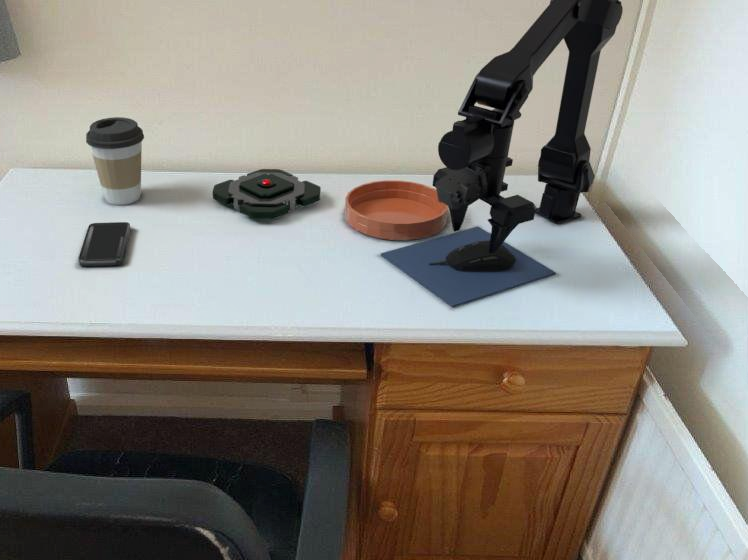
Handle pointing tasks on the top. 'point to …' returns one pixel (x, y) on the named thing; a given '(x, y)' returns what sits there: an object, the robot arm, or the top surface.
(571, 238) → the top surface
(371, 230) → the terracotta plant saucer
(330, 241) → the top surface
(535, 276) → the mouse mat
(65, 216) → the top surface
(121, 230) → the phone
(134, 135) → the coffee cup
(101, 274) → the top surface
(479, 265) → the gaming mouse
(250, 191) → the clover-shaped pad
